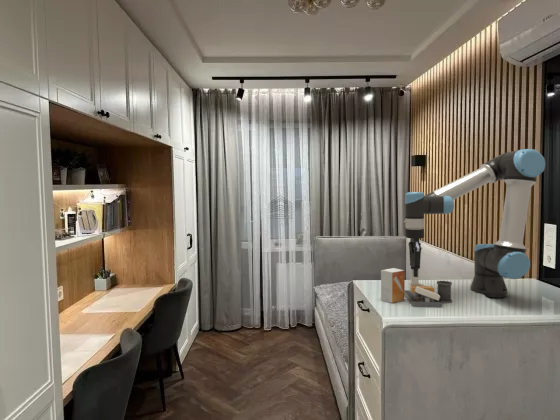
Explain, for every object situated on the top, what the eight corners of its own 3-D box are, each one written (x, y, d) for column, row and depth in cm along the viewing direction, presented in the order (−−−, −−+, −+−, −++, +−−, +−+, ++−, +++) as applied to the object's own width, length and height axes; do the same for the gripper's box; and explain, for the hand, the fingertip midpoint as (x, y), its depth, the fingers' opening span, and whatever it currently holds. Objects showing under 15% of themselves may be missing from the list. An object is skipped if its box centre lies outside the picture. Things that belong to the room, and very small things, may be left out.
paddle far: (428, 290, 166) (430, 286, 166) (430, 292, 163) (432, 288, 163) (408, 283, 167) (410, 279, 167) (410, 285, 164) (411, 281, 164)
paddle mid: (432, 290, 160) (432, 286, 160) (434, 292, 157) (434, 288, 157) (410, 290, 161) (410, 285, 161) (411, 292, 158) (411, 287, 158)
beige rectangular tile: (436, 298, 154) (437, 293, 154) (438, 300, 151) (440, 296, 151) (414, 290, 155) (416, 286, 155) (416, 292, 152) (418, 288, 152)
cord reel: (449, 299, 160) (449, 280, 160) (453, 303, 155) (453, 284, 154) (435, 299, 161) (435, 280, 161) (439, 303, 156) (439, 283, 155)
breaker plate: (430, 295, 167) (430, 287, 167) (442, 307, 150) (442, 298, 149) (404, 294, 169) (404, 286, 169) (413, 306, 151) (412, 297, 151)
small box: (392, 303, 156) (392, 272, 155) (380, 300, 161) (380, 269, 161) (405, 300, 160) (405, 269, 160) (393, 297, 166) (393, 267, 165)
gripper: (402, 227, 165) (402, 280, 166) (408, 230, 152) (409, 287, 153) (420, 227, 164) (420, 280, 165) (427, 229, 151) (428, 287, 152)
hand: (415, 283), depth 159 cm, fingers closed
